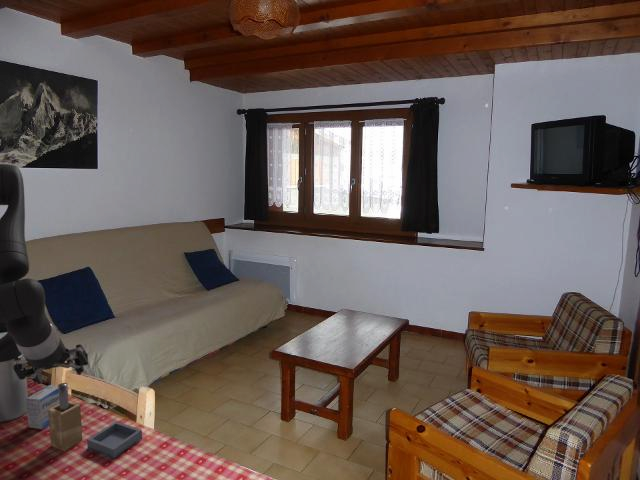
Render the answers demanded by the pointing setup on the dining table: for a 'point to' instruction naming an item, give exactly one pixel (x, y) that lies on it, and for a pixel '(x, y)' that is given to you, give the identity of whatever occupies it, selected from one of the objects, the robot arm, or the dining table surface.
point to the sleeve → (65, 426)
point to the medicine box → (41, 406)
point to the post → (63, 397)
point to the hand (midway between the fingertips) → (60, 375)
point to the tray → (114, 439)
